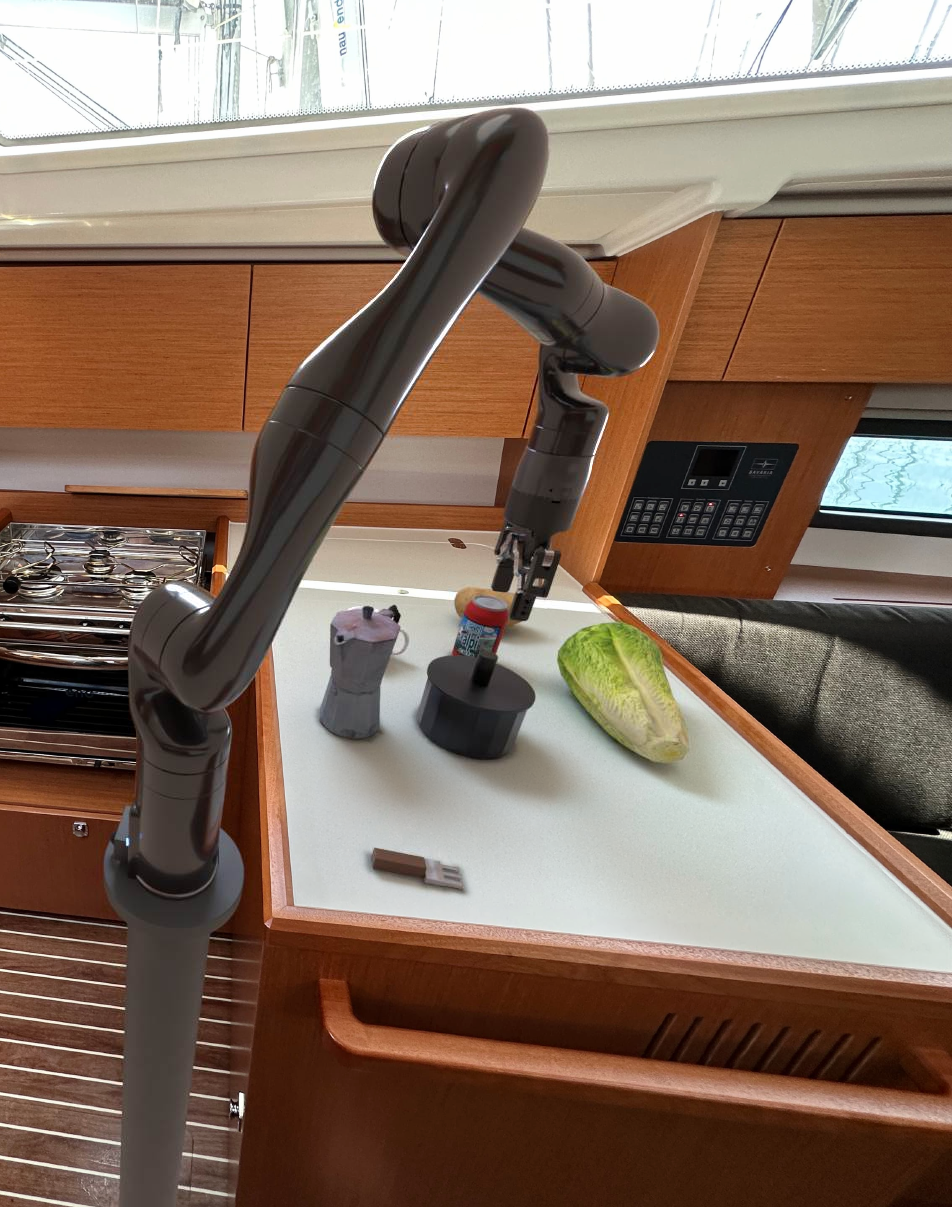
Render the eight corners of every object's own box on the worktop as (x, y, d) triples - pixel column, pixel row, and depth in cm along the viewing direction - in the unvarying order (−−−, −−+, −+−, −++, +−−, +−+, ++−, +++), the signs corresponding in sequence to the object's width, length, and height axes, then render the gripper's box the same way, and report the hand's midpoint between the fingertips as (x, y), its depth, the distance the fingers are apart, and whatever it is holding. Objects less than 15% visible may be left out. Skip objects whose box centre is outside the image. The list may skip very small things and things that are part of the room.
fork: (373, 872, 69) (375, 862, 68) (370, 852, 71) (373, 843, 71) (462, 890, 67) (466, 880, 67) (457, 870, 70) (461, 860, 69)
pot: (424, 750, 88) (439, 702, 84) (410, 698, 99) (423, 654, 96) (524, 767, 86) (544, 718, 82) (498, 711, 97) (514, 666, 93)
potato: (531, 643, 117) (545, 606, 114) (454, 634, 119) (465, 597, 116) (514, 619, 126) (526, 584, 122) (442, 611, 128) (452, 577, 124)
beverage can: (444, 658, 111) (461, 600, 105) (461, 647, 115) (479, 590, 109) (481, 675, 106) (502, 615, 101) (498, 662, 110) (518, 603, 105)
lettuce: (702, 793, 86) (586, 781, 89) (631, 677, 105) (538, 670, 109) (750, 723, 78) (620, 712, 81) (664, 611, 97) (562, 606, 100)
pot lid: (435, 707, 84) (445, 673, 82) (418, 655, 96) (427, 624, 94) (548, 725, 81) (562, 690, 79) (515, 668, 94) (527, 637, 91)
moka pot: (292, 724, 92) (313, 607, 83) (347, 687, 102) (371, 578, 93) (348, 757, 86) (377, 635, 77) (401, 714, 96) (433, 600, 86)
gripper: (498, 469, 81) (465, 579, 89) (532, 501, 69) (491, 626, 76) (560, 474, 80) (522, 586, 87) (606, 508, 68) (557, 634, 75)
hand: (507, 604), depth 82 cm, fingers open, 8 cm apart
